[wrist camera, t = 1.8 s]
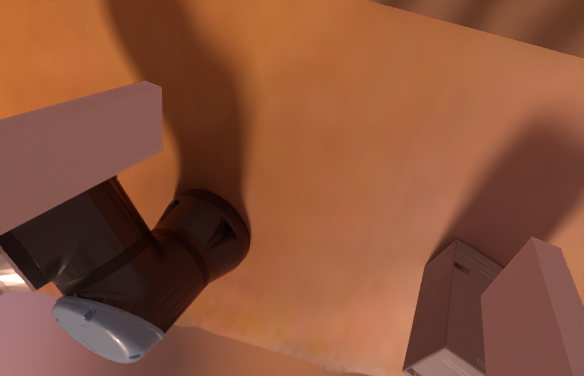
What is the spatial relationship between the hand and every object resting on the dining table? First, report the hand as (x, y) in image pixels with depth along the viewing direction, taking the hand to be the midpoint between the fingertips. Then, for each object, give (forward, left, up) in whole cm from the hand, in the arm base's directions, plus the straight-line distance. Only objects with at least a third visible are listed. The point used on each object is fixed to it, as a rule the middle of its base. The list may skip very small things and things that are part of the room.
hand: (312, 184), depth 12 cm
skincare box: (+15, -21, -27) cm, 37 cm away
